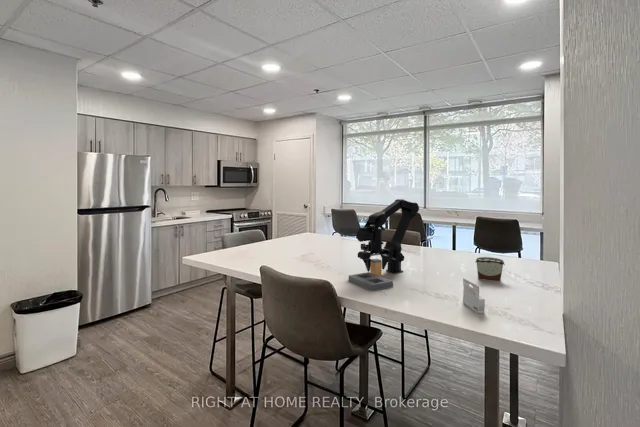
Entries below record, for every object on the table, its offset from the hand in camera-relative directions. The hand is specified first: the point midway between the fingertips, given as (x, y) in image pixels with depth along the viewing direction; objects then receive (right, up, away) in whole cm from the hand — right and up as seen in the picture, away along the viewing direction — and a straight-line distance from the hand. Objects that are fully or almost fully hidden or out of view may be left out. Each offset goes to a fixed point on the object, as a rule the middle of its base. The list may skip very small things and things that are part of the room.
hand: (375, 270), depth 166 cm
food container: (+53, -3, -8) cm, 54 cm away
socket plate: (-5, -4, -14) cm, 15 cm away
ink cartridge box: (+28, -6, -45) cm, 53 cm away
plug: (0, -3, 0) cm, 3 cm away
